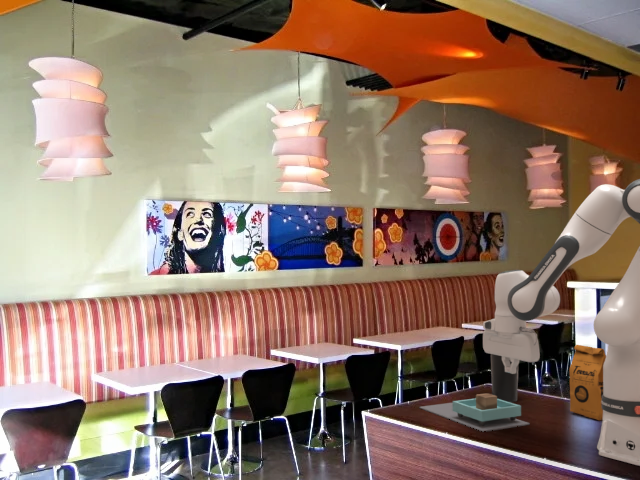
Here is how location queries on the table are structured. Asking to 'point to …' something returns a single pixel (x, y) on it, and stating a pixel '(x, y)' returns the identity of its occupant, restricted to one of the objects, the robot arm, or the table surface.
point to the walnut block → (486, 401)
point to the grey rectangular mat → (490, 425)
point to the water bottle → (503, 380)
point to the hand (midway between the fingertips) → (510, 372)
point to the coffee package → (587, 381)
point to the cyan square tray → (500, 412)
